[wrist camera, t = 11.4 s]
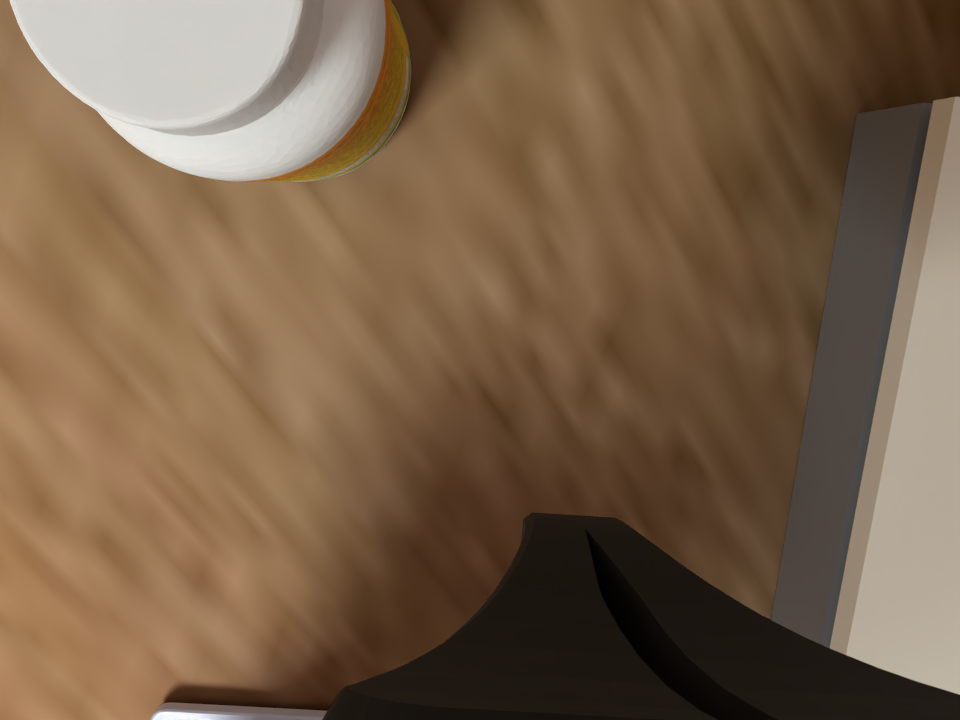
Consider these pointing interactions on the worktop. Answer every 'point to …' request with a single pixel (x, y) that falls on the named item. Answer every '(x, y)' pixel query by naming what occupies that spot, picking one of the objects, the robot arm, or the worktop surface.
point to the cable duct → (849, 364)
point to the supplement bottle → (233, 79)
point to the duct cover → (915, 450)
